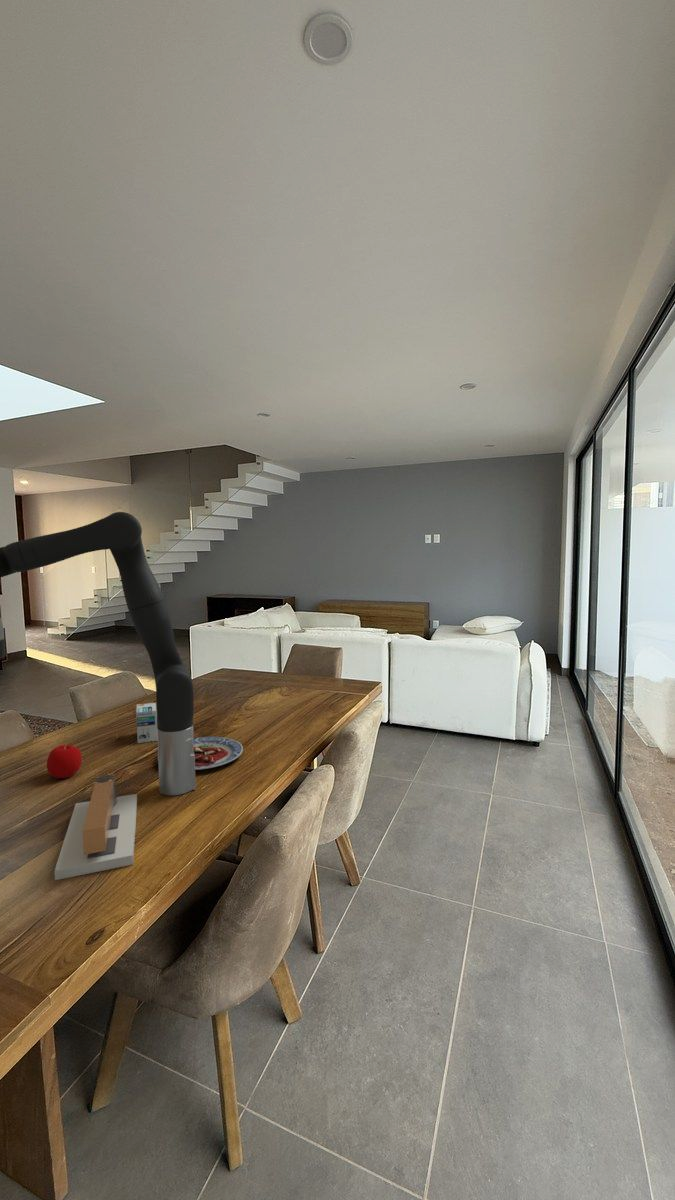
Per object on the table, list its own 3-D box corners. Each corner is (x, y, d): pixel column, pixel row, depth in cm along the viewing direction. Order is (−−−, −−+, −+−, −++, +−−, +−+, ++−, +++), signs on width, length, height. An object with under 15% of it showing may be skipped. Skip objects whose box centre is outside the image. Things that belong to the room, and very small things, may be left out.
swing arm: (116, 792, 123) (115, 773, 123) (106, 850, 99) (105, 826, 99) (96, 795, 122) (95, 776, 121) (82, 855, 97) (81, 830, 97)
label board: (137, 801, 126) (136, 790, 126) (133, 864, 100) (132, 850, 100) (76, 811, 121) (75, 799, 121) (55, 880, 95) (54, 865, 95)
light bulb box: (158, 741, 168) (157, 710, 167) (137, 744, 165) (135, 712, 165) (157, 731, 178) (156, 702, 177) (137, 733, 175) (136, 704, 174)
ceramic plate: (221, 780, 139) (221, 769, 139) (140, 772, 144) (139, 762, 144) (255, 746, 164) (254, 737, 164) (184, 740, 169) (184, 732, 169)
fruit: (88, 774, 142) (86, 741, 141) (53, 785, 135) (51, 750, 134) (75, 765, 148) (73, 733, 147) (42, 775, 141) (40, 742, 140)
